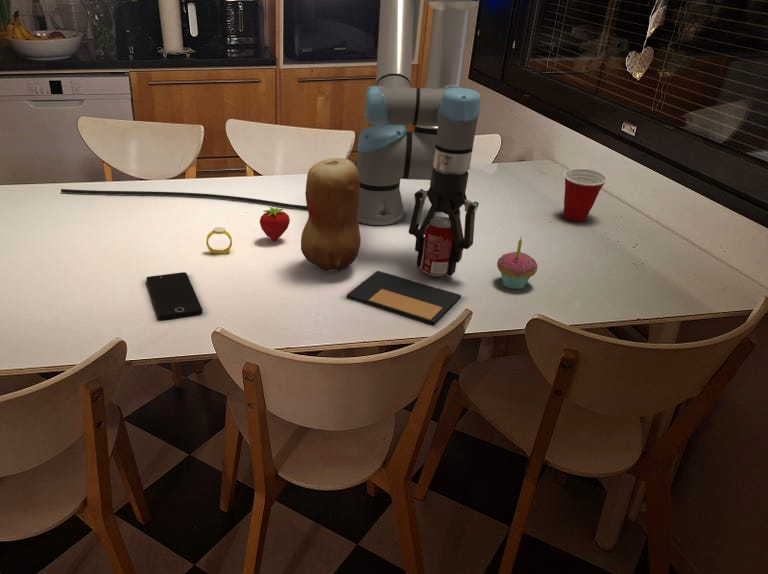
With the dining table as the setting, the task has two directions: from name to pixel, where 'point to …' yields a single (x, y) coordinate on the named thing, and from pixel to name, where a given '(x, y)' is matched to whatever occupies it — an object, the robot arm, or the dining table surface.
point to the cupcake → (516, 268)
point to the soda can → (437, 247)
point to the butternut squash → (332, 215)
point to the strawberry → (274, 223)
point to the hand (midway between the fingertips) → (435, 269)
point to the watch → (219, 231)
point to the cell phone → (173, 295)
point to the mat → (404, 297)
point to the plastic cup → (581, 192)
